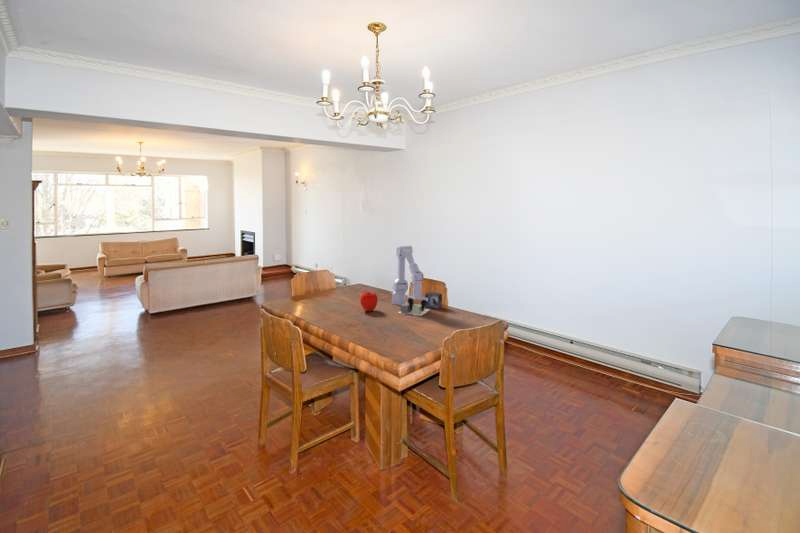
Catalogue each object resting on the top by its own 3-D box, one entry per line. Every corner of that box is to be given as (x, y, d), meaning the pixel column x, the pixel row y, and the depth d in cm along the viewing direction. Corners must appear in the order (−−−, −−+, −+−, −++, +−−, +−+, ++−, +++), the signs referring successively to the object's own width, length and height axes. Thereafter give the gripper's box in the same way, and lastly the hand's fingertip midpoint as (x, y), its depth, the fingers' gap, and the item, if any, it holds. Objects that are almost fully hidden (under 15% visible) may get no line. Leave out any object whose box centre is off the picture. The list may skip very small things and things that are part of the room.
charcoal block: (400, 312, 266) (400, 305, 265) (403, 310, 270) (403, 303, 269) (407, 313, 264) (407, 306, 263) (410, 311, 268) (410, 304, 267)
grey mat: (397, 313, 265) (397, 312, 265) (407, 307, 280) (407, 306, 280) (421, 316, 259) (421, 315, 258) (430, 310, 273) (430, 309, 273)
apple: (361, 314, 263) (360, 294, 261) (359, 309, 275) (359, 290, 272) (378, 313, 266) (378, 293, 263) (376, 308, 277) (376, 289, 275)
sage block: (412, 313, 263) (412, 306, 262) (415, 311, 268) (415, 304, 267) (419, 314, 261) (419, 307, 260) (422, 312, 266) (422, 305, 265)
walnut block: (404, 309, 272) (404, 304, 271) (408, 307, 278) (408, 301, 278) (414, 311, 269) (414, 305, 268) (417, 308, 275) (418, 302, 275)
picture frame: (424, 308, 278) (424, 293, 276) (428, 305, 284) (428, 291, 282) (438, 310, 273) (438, 295, 272) (442, 307, 279) (442, 293, 277)
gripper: (404, 290, 261) (404, 310, 263) (425, 292, 255) (425, 313, 258) (408, 288, 268) (408, 308, 270) (429, 290, 262) (429, 310, 264)
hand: (417, 310), depth 264 cm, fingers open, 7 cm apart
